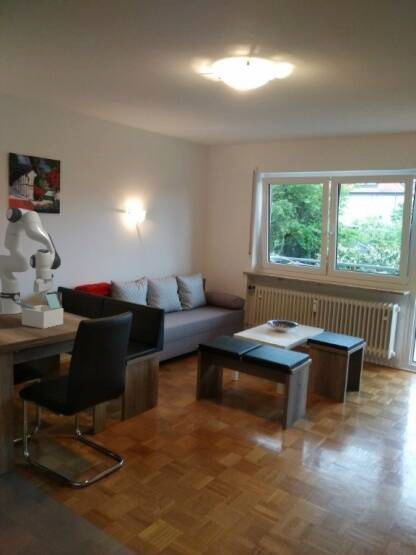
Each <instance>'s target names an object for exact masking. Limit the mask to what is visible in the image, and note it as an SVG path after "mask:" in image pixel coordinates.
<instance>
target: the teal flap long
mask: <svg viewBox="0 0 416 555" xmlns="http://www.w3.org/2000/svg"><path fill="white" fill-rule="evenodd" d="M20 302H21V301H20ZM20 302H14V303H16V304H18V305H20V306H21V308H29V309H35V310H36V308H34V307H33V306H31V305H30V304H28V303H25V302H21V303H20Z"/></svg>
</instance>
